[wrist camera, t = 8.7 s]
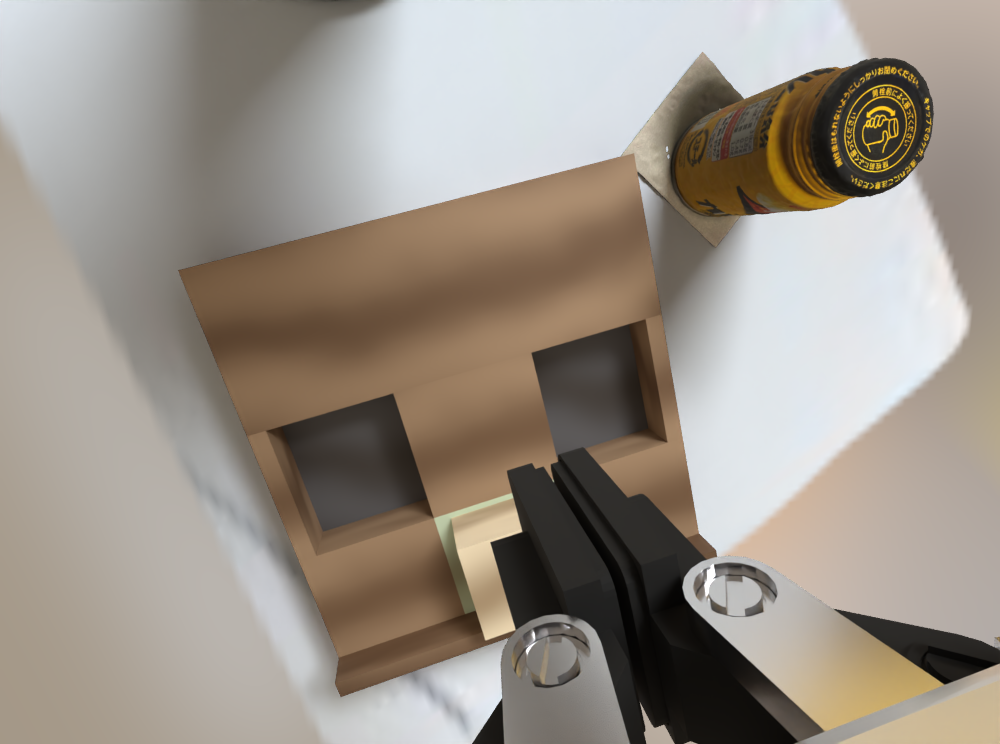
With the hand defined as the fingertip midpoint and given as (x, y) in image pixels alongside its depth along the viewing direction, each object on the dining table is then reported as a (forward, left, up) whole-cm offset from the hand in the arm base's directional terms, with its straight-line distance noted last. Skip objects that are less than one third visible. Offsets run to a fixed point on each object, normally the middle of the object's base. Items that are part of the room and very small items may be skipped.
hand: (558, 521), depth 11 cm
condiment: (-7, +18, -22) cm, 29 cm away
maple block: (+13, 0, -19) cm, 23 cm away
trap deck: (+5, 0, -22) cm, 23 cm away
